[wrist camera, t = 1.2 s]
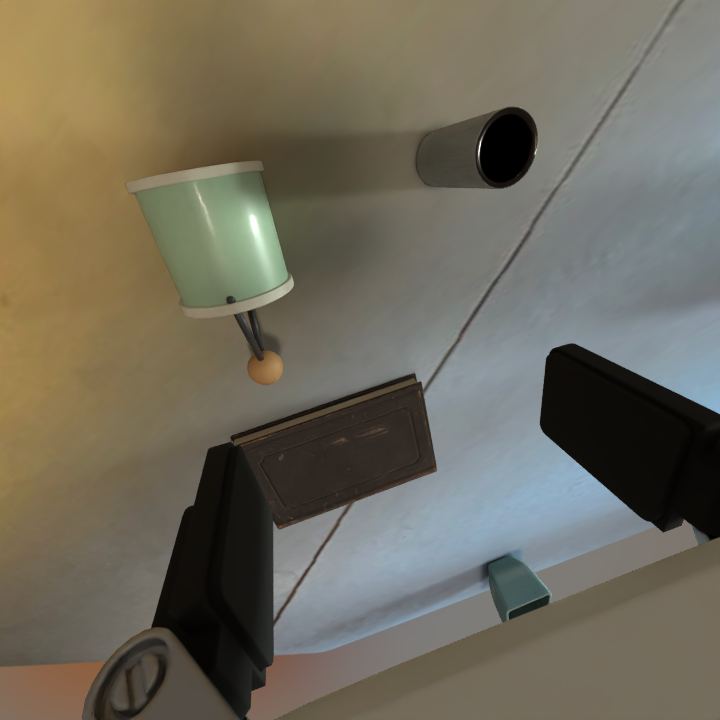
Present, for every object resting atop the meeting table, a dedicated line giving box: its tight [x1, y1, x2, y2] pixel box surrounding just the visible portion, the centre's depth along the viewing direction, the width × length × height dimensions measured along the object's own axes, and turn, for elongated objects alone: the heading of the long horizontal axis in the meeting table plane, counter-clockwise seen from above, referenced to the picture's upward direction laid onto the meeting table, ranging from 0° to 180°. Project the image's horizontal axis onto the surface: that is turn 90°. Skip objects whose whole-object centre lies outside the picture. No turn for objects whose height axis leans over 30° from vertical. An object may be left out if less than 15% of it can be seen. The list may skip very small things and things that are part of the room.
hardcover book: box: [231, 374, 437, 529], centre depth 43 cm, size 16×23×2 cm
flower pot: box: [488, 555, 551, 622], centre depth 64 cm, size 9×9×9 cm
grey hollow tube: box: [416, 107, 538, 189], centre depth 26 cm, size 4×4×10 cm
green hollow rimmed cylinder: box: [125, 161, 294, 385], centre depth 27 cm, size 18×9×9 cm, turn 9°
